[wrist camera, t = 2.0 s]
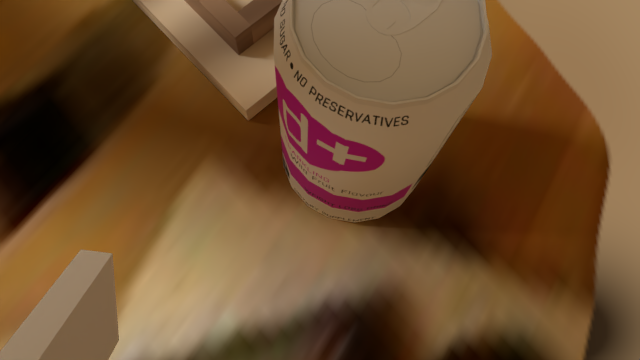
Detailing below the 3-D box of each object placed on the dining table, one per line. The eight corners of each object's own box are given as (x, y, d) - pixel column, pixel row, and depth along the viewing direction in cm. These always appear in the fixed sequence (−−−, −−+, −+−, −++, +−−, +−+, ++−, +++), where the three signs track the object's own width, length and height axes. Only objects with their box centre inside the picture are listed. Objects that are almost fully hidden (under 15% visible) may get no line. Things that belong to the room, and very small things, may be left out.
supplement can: (345, 253, 32) (381, 169, 18) (255, 149, 34) (223, -4, 20) (447, 167, 34) (554, 29, 20) (356, 72, 36) (394, -119, 21)
